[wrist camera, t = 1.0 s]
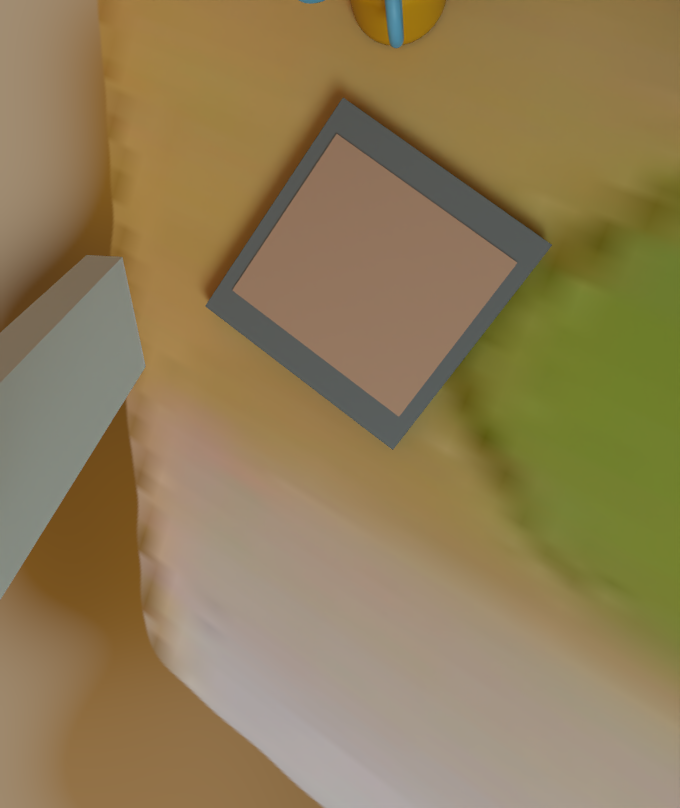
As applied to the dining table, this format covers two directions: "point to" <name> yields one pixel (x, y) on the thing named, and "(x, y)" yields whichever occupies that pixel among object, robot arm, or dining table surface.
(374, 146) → the tray
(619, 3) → the dining table surface
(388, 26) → the tube with blue rings
